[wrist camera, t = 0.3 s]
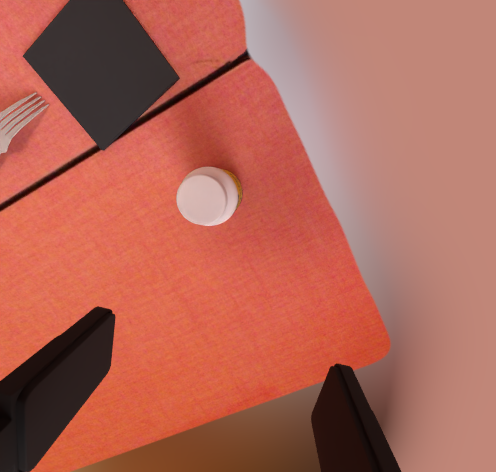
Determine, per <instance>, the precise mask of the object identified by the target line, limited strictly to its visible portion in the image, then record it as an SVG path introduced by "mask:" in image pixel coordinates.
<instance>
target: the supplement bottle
mask: <svg viewBox="0 0 496 472" xmlns="http://www.w3.org/2000/svg"><path fill="white" fill-rule="evenodd" d="M241 199H242V186H241V183H240V181H239V180H238V178H237V177H236V176H235V175H234V174H233V173H231V172H230V171H227V170H224V169H220V168H216V167H201V168H197V169H195V170H193V171H191V172H190V173H189V174H188V175H187V176H186V177H185V178H184V180H183V181H182V183H181V185H180V186H179V188H178V191H177V196H176V201H177V206H178V209H179V211H180V212H181V214H182V215H183V216H184V217H185V218H186V219H187V220H189V221H190V222H192V223H195V224H199V225H204V226H214V225H218V224H221V223H223V222H225V221H226V220H228V219H229V218H230V217H231V216H232V215H233V213H234V212H235V210H236V209H237V208H238V206H239V204H240V202H241Z"/></svg>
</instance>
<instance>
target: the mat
mask: <svg viewBox="0 0 496 472" xmlns="http://www.w3.org/2000/svg"><path fill="white" fill-rule="evenodd" d="M23 57H24V58H25V59H26V60H27V62H28V63H29V64H30V65H31V66H32V68H33V69H34V70H35V71H36V72H37V74H38V75H39V76H40V77H41V78H42V79H43V81H44V82H45V83H46V84H47V85H48V87H49V88H50V89H51V90H52V91H53V93H54V94H55V95H56V96H57V97H58V99H59V100H60V101H61V102H62V103H63V104H64V106H65V107H66V108H67V109H68V110H69V112H70V113H71V114H72V115H73V116H74V118H75V119H76V120H77V121H78V122H79V123H80V125H81V126H82V127H83V128H84V129H85V131H86V132H87V133H88V134H89V135H90V137H91V138H92V139H93V140H94V141H95V142H96V144H97V145H98V146H99V147H100V148H101V150H105V149H106V148H107V147H108V146H109V145H110V144H111V143H112V142H113V141H114V140H115V139H117V138H118V137H119V136H120V135H121V134H122V133H123V132H124V131H125V130H126V129H127V128H128V127H129V126H130V125H131V124H132V123H133V122H134V121H135V120H136V119H138V118H139V117H140V116H141V115H142V114H143V113H144V112H145V111H146V110H147V109H148V108H149V107H150V106H151V105H152V104H153V103H154V102H155V101H156V100H157V99H159V98H160V97H161V96H162V95H163V94H164V93H165V92H166V91H167V90H168V89H169V88H170V87H171V86H172V85H173V84H174V83H175V82H176V81H177V80H178V79H179V77H178V75H177V74H176V73H175V71H174V70H173V69H172V67H171V66H170V64H169V63H168V62H167V60H166V59H165V58H164V56H163V55H162V53H161V52H160V51H159V49H158V48H157V47H156V45H155V44H154V43H153V41H152V40H151V38H150V37H149V36H148V34H147V33H146V32H145V30H144V29H143V27H142V26H141V25H140V23H139V22H138V21H137V19H136V18H135V17H134V15H133V14H132V12H131V11H130V10H129V8H128V7H127V6H126V4H125V3H124V1H123V0H70V1H69V2H68V3H67V4H66V5H65V6H64V8H63V9H62V10H61V11H60V12H59V14H58V15H57V16H56V17H55V18H54V20H53V21H52V22H51V23H50V24H49V25H48V27H47V28H46V29H45V30H44V31H43V33H42V34H41V35H40V36H39V37H38V39H37V40H36V41H35V42H34V43H33V44H32V46H31V47H30V48H29V49H28V50H27V52H26V53H25V54H24V55H23Z"/></svg>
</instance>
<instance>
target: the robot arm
mask: <svg viewBox="0 0 496 472" xmlns="http://www.w3.org/2000/svg"><path fill="white" fill-rule="evenodd" d="M114 327H115V314H112V310H111V309H106V308H102V307H95V308H94V309H93V310H91V311H90V312H89V313H88V314H86V315H85V316H84V317H83V318H81V319H80V320H79V321H78V322H76V323H75V324H74V325H73V326H71V327H70V328H69V329H68V330H66V331H65V332H64V333H63V334H61V335H59V336H57V337H56V338H54V339H53V340H52V341H51V342H49V343H48V344H47V345H45V346H44V347H43V348H42V349H40V350H39V351H38V352H37V353H35V354H34V355H33V356H32V357H30V358H29V359H28V360H26V361H25V362H24V363H23V364H21V365H20V366H19V367H18V368H16V369H15V370H14V371H13V372H11V373H10V374H9V375H8V376H6V377H5V378H4V379H2V380H1V381H0V472H30V471H31V470H32V469H33V468H34V467H35V466H36V465H37V464H38V462H39V461H40V460H41V458H42V457H43V456H44V455H45V453H46V452H47V451H48V449H49V448H50V447H51V446H52V444H53V443H54V442H55V440H56V439H57V438H58V437H59V435H60V434H61V433H62V431H63V430H64V429H65V428H66V426H67V425H68V424H69V422H70V421H71V420H72V418H73V417H74V416H75V415H76V413H77V412H78V411H79V409H80V408H81V407H82V406H83V404H84V403H85V402H86V400H87V399H88V398H89V397H90V395H91V394H92V393H93V391H94V390H95V389H96V388H97V386H98V385H99V384H100V382H101V381H102V380H103V379H104V377H105V376H106V375H107V373H108V371H109V369H110V366H111V358H112V347H113V337H114ZM311 421H312V428H313V432H314V437H315V442H316V447H317V453H318V458H319V463H320V468H321V472H401V470H400V468H399V466H398V463H397V461H396V459H395V457H394V455H393V453H392V451H391V449H390V447H389V444H388V442H387V440H386V438H385V436H384V434H383V432H382V429H381V427H380V425H379V423H378V421H377V419H376V417H375V415H374V413H373V411H372V410H371V408H370V406H369V404H368V402H367V400H366V397H365V395H364V393H363V391H362V389H361V387H360V384H359V382H358V380H357V378H356V377H355V374H354V372H353V369H352V368H351V367H350V366H346V365H341V364H335V366H331V367H330V369H329V372H328V374H327V377H326V379H325V382H324V384H323V387H322V389H321V392H320V394H319V397H318V400H317V402H316V405H315V407H314V410H313V412H312V416H311Z"/></svg>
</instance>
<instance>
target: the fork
mask: <svg viewBox="0 0 496 472" xmlns="http://www.w3.org/2000/svg"><path fill="white" fill-rule="evenodd" d="M36 94H37V92H35V93H33V94H31V95H29V96H27V97H26V98H24V99H22V100H20V101H18V102H16V103H15V104H13V105H11V106H10V107H8V108H7V109H5V110H3V111H2V112H1V113H0V121H1V120H2V119H3V118H4V117H5V116H6V115H7V114H9V113H10V112H11V111H13V110H14V109H15V108H17V107H18V106H19V105H21V104H22V103H24V102H25V101H27V100H28V99H30V98H31V97H33V96H34V95H36ZM40 98H41V96H40V97H38V98H36V99H34V100H33V101H31V102H29V103H28V104H26V105H24V106H22V107H21V108H19V109H18V110H16V111H15V112H14V113H12V114H11V115H9V116H8V117H6V118H5V119H4V120H3V121H1V122H0V154H1V153H6V152H7V149H8V146H9V144H10V141H11V139H12V138H13V137H14V136H15V135H16V134H17V133H18V132H19V131H20V129H22V128H23V127H24V126H25V125H26V124H27V123H28V122H30V121H31V120H32V119H33V118H34V117H35V116H37V115H38V114H39V113H40V112H41V111H43V110H44V109H45V108H46V107H47V106H49V104H47V105H45V106H44V107H42V108H41V109H39V110H38V111H36V112H35V113H33V114H32V115H30V116H29V117H27V118H26V119H25V120H23V121H22V122H21V123H19V124H18V125H16V126H15V127H14V128H13V129H12V130H11V131H10V132H9V133H8V134H6V133H7V132H8V131H9V130H10V129H11V128H12V127H13V126H14V125H15V124H16V123H18V122H19V121H20V120H21V119H23V118H24V117H25V116H26V115H28V114H29V113H30V112H31V111H33V110H34V109H35V108H37V107H38V106H39V105H40V104H42V103H43V102H44V101H45V100H43V101H41V102H39V103H38V104H36V105H35V106H33V107H31V108H30V109H28V110H27V111H25V112H24V113H22V114H21V115H20V116H18V117H17V118H15V119H14V120H13V121H11V122H10V123H9V124H8V125H7V126H6V127H5V128H3V127H4V126H5V125H6V124H7V123H8V122H9V121H10V120H11V119H13V118H14V117H15V116H17V115H18V114H19V113H21V112H22V111H23V110H25V109H26V108H27V107H29V106H30V105H31V104H33V103H34V102H36V101H37V100H38V99H40ZM2 128H3V129H2ZM1 129H2V130H1Z"/></svg>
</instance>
